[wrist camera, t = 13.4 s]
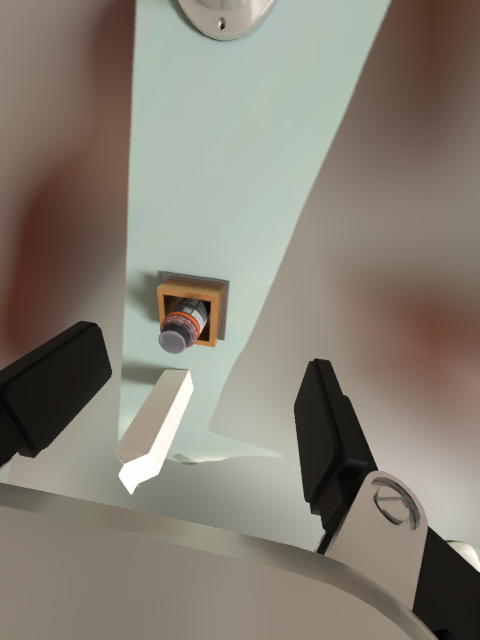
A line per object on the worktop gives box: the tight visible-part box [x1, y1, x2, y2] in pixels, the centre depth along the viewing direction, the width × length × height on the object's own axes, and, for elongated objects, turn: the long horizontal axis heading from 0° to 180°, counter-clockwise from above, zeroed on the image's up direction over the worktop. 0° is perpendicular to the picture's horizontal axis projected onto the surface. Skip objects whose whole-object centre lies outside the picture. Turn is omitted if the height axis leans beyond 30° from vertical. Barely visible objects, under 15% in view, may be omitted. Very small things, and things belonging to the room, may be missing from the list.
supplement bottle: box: [159, 297, 210, 354], centre depth 35 cm, size 6×6×11 cm
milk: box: [114, 369, 193, 494], centre depth 41 cm, size 6×6×22 cm
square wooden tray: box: [157, 272, 230, 347], centre depth 38 cm, size 12×12×5 cm
